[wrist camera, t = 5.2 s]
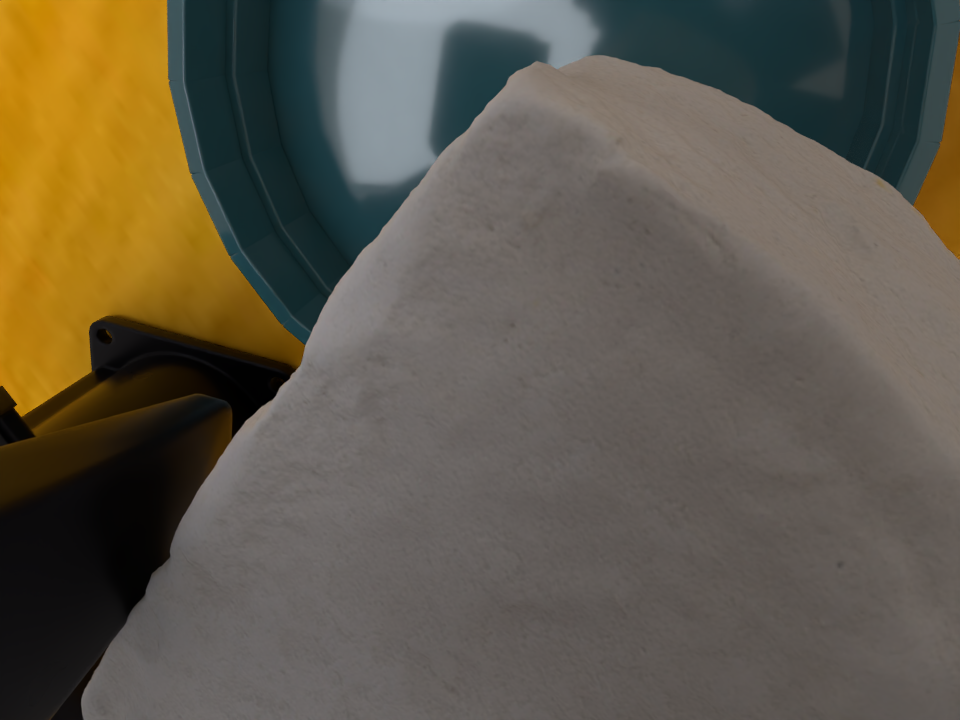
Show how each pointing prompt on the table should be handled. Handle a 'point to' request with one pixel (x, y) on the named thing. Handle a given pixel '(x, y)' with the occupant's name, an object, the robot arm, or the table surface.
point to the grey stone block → (591, 444)
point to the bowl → (480, 77)
